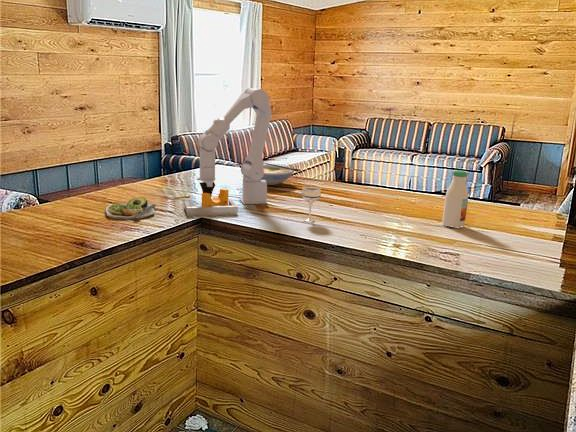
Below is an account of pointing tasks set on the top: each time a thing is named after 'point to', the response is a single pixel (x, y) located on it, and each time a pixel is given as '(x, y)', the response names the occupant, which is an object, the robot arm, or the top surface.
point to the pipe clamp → (215, 199)
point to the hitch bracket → (211, 210)
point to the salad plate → (131, 209)
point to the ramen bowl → (276, 173)
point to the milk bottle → (456, 200)
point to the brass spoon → (182, 196)
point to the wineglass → (310, 196)
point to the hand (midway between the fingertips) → (207, 201)
